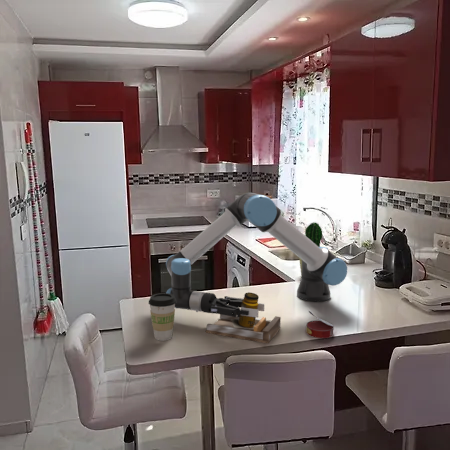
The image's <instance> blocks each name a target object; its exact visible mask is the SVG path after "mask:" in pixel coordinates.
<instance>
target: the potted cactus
mask: <svg viewBox="0 0 450 450" xmlns="http://www.w3.org/2000/svg"><path fill="white" fill-rule="evenodd" d="M304 230H305V231H304V232H305V233H304V235H305V236H306V237H307V238H309V239H310V240H311V241H312V242H313V243H315V244H316V245H317V246H318V247H321V241H322V240H323V233H324V231H323V229H322V226H321V225H319V223H318V222H315V221H313V222H310V223H309V224H308V225H307V226H306V227H305V229H304ZM298 258H299V257H298ZM299 266H300V267H299V268H300V271H301V270H302V259H300V258H299Z"/></svg>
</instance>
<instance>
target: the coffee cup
mask: <svg viewBox="0 0 450 450" xmlns="http://www.w3.org/2000/svg"><path fill="white" fill-rule="evenodd" d="M175 303H176V299H175V297H174V295H172V294H169V293H166V292H161V293H160V292H159V293H156V294H152V295H151V296H150V298H149V299H148V305H149V307H150V309H149V310H150V320H151V324H152V329H153V336H154V339H155V340H156V341H168V340H170V339H172V337H173V329H174V323H175V322H174V321H175V313H176V308H175Z"/></svg>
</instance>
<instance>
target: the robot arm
mask: <svg viewBox="0 0 450 450" xmlns="http://www.w3.org/2000/svg"><path fill="white" fill-rule="evenodd" d="M224 209H225V210H224V212H223V213H222V214H221V215H220V216H219V217H217V218H216V219H215V220H214V221H213V222H212V223H210V225H208V226H207V227H205V229H204V230H202V231H201V232H200V233H198V235H197V236H196V237H194V238H193V239H192V240H191V241H190V242H189V243H188V244H186V245H185V246H184V247H183V248H181V249H180V250H179V251H178V252H177V253H176V254H172V255H170V256H168V257H167V259H166V261H165V267H166V270H167V273H169V275H170V277H171V287H170V288H168V289H167V290H166V291H165V293H169V294H172V295H174V297H175V299H176V303H175V309H181V310H188V311H194V312H196V313H198V312H201V313H206V314H217V315H220V314H222V315H227V316H233V317H236V316H237V317H240V314H241V315H244V316H250V317H256V318H258V319H259V311H260V312H264V311H265V303H262V302H261V303H260V302H258V308H257V309H250V308H243V307H241V305H242V300H243V299H244V298H241V297H234V296H233V297H232V296H229V295H228V296H227V295H226V296H224V297H219V298H217V296H216V294H215V293H213V292H205V291H197V290H192V288H191V287H192V283H191V282H192V281H191V280H192V277H191V276H192V266H191V265H193V264H194V263H195V262H197V260H198V259H200V258H201V257H202V256H203V255H205V254H206V253H207V252H208V251H209V250H210V249H211V248H213V247H214V246H215V245H216V244H217V243H218V242H220V241H221V240H222V239H223V238H224V237H225V236H227V235H228V234H229V233H230V232H231V231H232V230H233V229H235V228H236V227H240V226H242V225H243V224H244V223H246V222H249V223H250V224H252V226H254V227H256V229H258V230H259V231H260V232H262V233H268V234H270V235H271V236H272V237H274V238H275V240H276V241H279V243H281V244H282V245H283V246H284V247H286V248H287V249H288V250H289V251H291V252H292V253H293V254H294V255H296V257H298V258H300V259H302V270H301V269H300V275H301V276H300V278H301V279H300V282H299V284H298V287H297V290H296V297H297V298H298V299H301V300H304V301H307V302H324V301H325V302H326V301H328V300H330V299H331V289H330V286H337V285H338V286H339V285H340V284H342V283H343V282H344V280H346V278H347V276H348V265H347V263H346V262H345V261H344V260H343V259H342V258H339V257H337V256H336V255H335V254H334V253H332V252H331V251H330V250H329V248H328V247H326V246H319V247H318V246H317V245H316V244H315V243H313V242H312V241H311V240H310V239H309V238H307V237H306V236H305V233H303V232H302V231H300V229H298V228H297V227H296V226H294V224H292V223H291V222H290V221H288V220H287V219H286V218H285V217H284V216H283V215H282V210H281V209H280V208H279V207H278V206H276V203H275V202H274V201H273V200H272V199H271V198H270V197H268V196H267V195H263V194H259V193H255V192H245V193H242V194H241V195H240V196H238V197H237V198H236V199H235V200H234V201H232V202H231V203H230V204H228V206H226V208H224Z"/></svg>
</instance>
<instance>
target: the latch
mask: <svg viewBox="0 0 450 450" xmlns="http://www.w3.org/2000/svg"><path fill="white" fill-rule="evenodd" d="M260 319H261V320H260V321H259V322H258V323H257V324H256V325H255V326H254V331H256V332H261V331H262V329H263V328H264V327H265V326H266V320H267V318H266V317H264V316H262V317H261V318H260Z"/></svg>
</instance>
